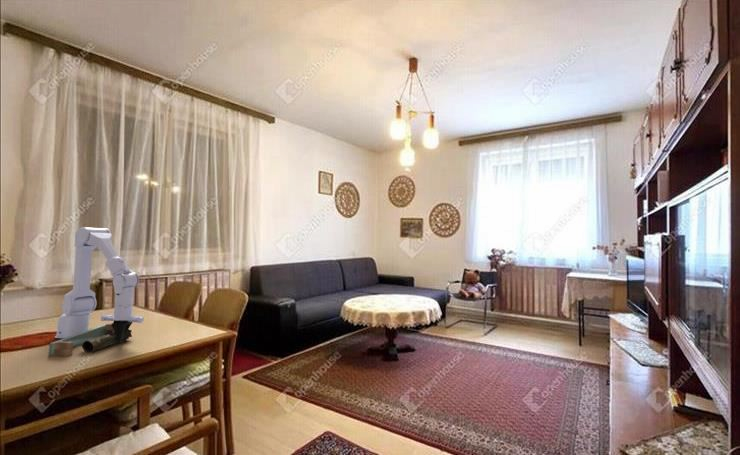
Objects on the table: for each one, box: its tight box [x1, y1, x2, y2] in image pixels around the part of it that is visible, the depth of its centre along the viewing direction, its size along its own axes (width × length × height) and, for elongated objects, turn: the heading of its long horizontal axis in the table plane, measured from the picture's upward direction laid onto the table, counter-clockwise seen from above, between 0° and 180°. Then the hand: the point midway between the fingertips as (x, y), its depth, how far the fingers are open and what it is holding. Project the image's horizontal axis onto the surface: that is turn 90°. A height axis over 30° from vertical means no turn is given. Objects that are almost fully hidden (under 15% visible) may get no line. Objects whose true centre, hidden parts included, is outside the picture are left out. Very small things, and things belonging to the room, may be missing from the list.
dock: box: [48, 322, 113, 357], centre depth 135 cm, size 6×27×4 cm, turn 3°
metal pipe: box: [81, 328, 133, 354], centre depth 136 cm, size 18×7×6 cm, turn 170°
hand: (120, 340), depth 136 cm, fingers closed
